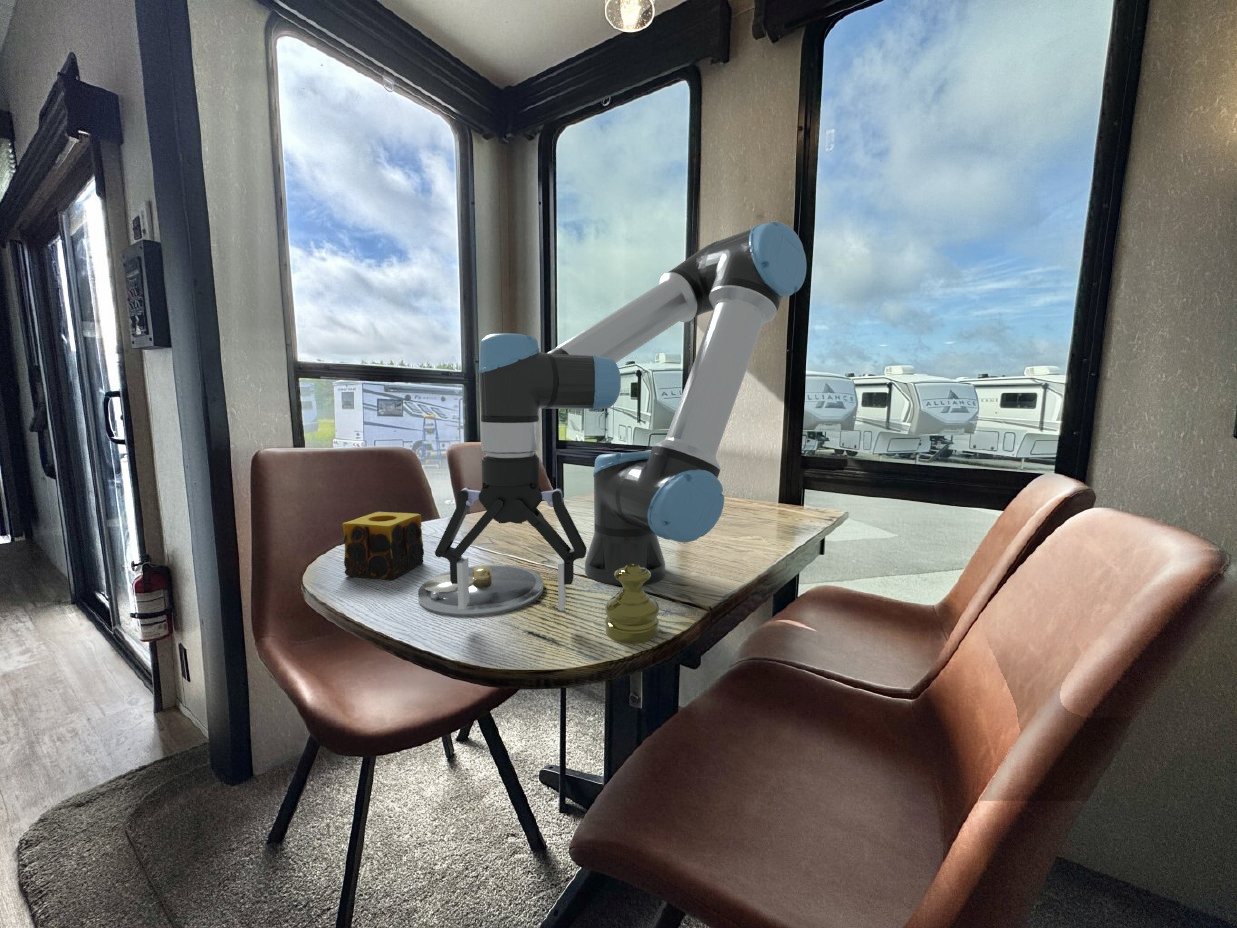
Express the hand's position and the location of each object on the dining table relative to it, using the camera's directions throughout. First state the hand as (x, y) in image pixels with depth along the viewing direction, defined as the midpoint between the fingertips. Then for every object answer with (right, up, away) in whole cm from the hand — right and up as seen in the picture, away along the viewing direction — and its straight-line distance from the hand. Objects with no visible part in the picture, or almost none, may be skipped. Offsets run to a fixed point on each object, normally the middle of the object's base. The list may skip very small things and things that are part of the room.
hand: (513, 605), depth 70 cm
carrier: (-8, -2, +14) cm, 16 cm away
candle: (-29, 0, +25) cm, 38 cm away
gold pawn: (+17, -4, 0) cm, 17 cm away
